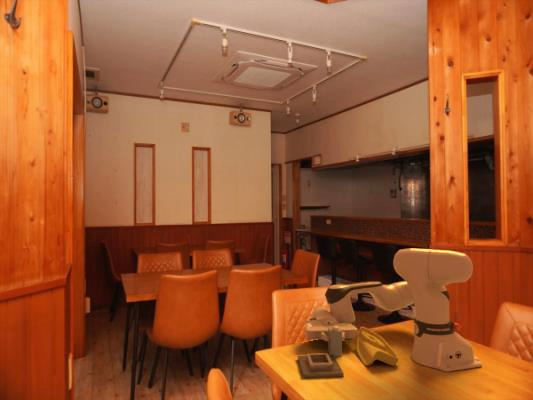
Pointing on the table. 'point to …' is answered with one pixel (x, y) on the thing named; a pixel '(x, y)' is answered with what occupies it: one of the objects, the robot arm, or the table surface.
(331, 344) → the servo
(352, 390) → the table surface
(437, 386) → the table surface
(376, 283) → the robot arm
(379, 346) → the plastic component
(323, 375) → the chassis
